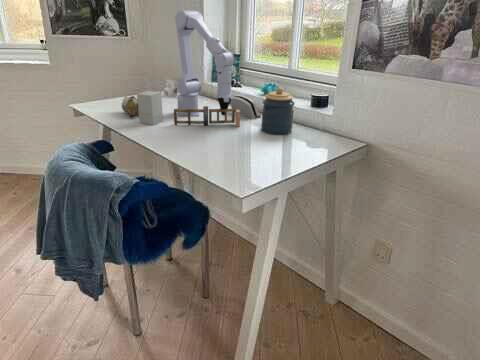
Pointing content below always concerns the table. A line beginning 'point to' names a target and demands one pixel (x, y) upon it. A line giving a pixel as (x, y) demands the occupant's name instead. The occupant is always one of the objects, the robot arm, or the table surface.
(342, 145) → the table surface
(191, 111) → the fence
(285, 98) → the canister
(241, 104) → the grey arched piece
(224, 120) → the gate
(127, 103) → the ceramic sculpture
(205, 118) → the hinge post
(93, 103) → the table surface
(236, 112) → the post
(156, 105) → the supplement box
